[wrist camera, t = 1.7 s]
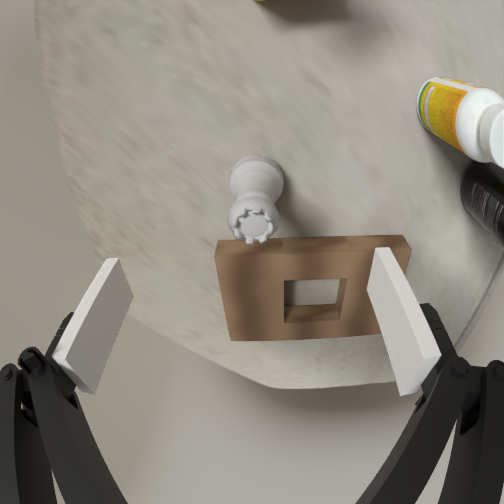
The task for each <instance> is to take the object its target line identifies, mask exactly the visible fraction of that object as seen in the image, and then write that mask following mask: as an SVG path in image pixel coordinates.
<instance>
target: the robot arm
mask: <svg viewBox="0 0 504 504" xmlns="http://www.w3.org/2000/svg"><path fill="white" fill-rule="evenodd" d="M367 292H368V295H369V297H370V300H371V303H372V306H373V309H374V312H375V315H376V317H377V320H378V323H379V326H380V329H381V332H382V336H383V339H384V342H385V345H386V348H387V352H388V355H389V358H390V361H391V365H392V368H393V372H394V375H395V379H396V382H397V386H398V390H399V393H400V396H403V395H408V394H413V393H416V392H417V391H418V389H419V388H420V386H421V387H422V390H423V394H422V396H421V397H420V398H419V400H418V401H417V402H416V403H415V405H417V406H416V408H415V410H414V412H413V414H412V416H411V417H410V419H409V421H408V423H407V425H406V427H405V429H404V430H403V432H402V434H401V436H400V438H399V439H398V441H397V443H396V445H395V446H394V448H393V449H392V451H391V453H390V455H389V456H388V458H387V459H386V461H385V463H384V464H383V465H382V467H381V469H380V470H379V472H378V473H377V474H376V476H375V478H374V479H373V480H372V482H371V483H370V485H369V486H368V487H367V489H366V490H365V492H364V493H363V494H362V496H361V497H360V498H359V500H358V501H357V502H356V503H355V504H415V503H416V501H417V499H418V498H419V496H420V494H421V493H422V491H423V489H424V487H425V486H426V484H427V482H428V480H429V478H430V476H431V474H432V473H433V471H434V469H435V467H436V465H437V463H438V461H439V459H440V457H441V455H442V452H443V450H444V448H445V446H446V443H447V441H448V439H449V437H450V434H451V432H452V429H453V427H454V425H455V422H456V419H457V423H456V429H455V435H454V441H453V446H452V451H451V456H450V461H449V465H448V469H447V473H446V477H445V481H444V485H443V488H442V492H441V495H440V499H439V502H438V504H499V503H500V498H501V494H502V488H503V483H504V362H502V361H499V360H493V361H491V362H490V363H489V364H488V366H487V367H478V366H471V365H470V364H469V363H468V362H467V361H466V360H465V359H464V358H462V357H459V356H458V355H457V354H456V351H455V349H454V347H453V345H452V342H451V340H450V338H449V336H448V334H447V332H446V329H444V325H443V323H442V322H441V319H440V317H439V315H438V313H437V311H436V310H435V309H434V308H433V307H432V306H431V305H430V304H429V303H425V304H419V303H418V301H417V299H416V297H415V295H414V293H413V291H412V289H411V287H410V285H409V283H408V281H407V279H406V277H405V276H404V274H403V272H402V270H401V268H400V266H399V264H398V262H397V261H396V259H395V257H394V255H393V253H392V251H391V250H390V248H389V247H381V248H375V252H374V257H373V262H372V267H371V272H370V277H369V281H368V286H367ZM133 297H134V296H133V293H132V291H131V289H130V286H129V284H128V281H127V279H126V276H125V274H124V271H123V269H122V266H121V263H120V261H119V258H110V259H106V261H105V262H104V264H103V265H102V267H101V269H100V270H99V272H98V273H97V275H96V277H95V278H94V280H93V282H92V283H91V285H90V287H89V289H88V290H87V292H86V293H85V295H84V297H83V299H82V300H81V302H80V304H79V306H78V307H77V309H76V311H75V313H73V312H71V313H70V314H69V315H68V316H67V317H66V318H65V319H64V320H63V322H62V324H61V326H60V329H58V331H57V333H56V336H55V337H54V339H53V340H52V342H51V344H50V346H49V348H48V350H47V352H46V354H45V356H43V355H42V353H41V352H40V351H39V349H37V348H36V347H29V348H27V349H25V350H24V351H23V352H22V353H21V354H20V356H19V358H18V365H19V366H20V367H21V368H22V369H21V370H19V369H18V368H17V367H16V366H15V365H14V364H12V363H10V364H7V365H5V366H4V367H3V368H2V369H1V371H0V504H57V500H56V495H55V489H54V484H53V477H52V472H51V468H52V471H53V474H54V477H55V479H56V482H57V484H58V487H59V489H60V492H61V494H62V496H63V499H64V501H65V503H66V504H128V503H127V502H126V500H125V498H124V497H123V495H122V493H121V491H120V490H119V488H118V486H117V484H116V482H115V480H114V479H113V477H112V475H111V473H110V471H109V469H108V467H107V465H106V463H105V461H104V459H103V457H102V455H101V453H100V451H99V448H98V447H97V444H96V442H95V439H94V437H93V435H92V433H91V430H90V428H89V425H88V423H87V420H86V418H85V415H84V413H83V410H82V408H81V405H80V402H79V399H78V396H77V394H76V392H75V391H74V389H75V387H76V386H77V387H78V388H79V389H80V390H81V391H82V392H85V393H89V394H95V393H96V390H97V387H98V384H99V382H100V379H101V376H102V373H103V371H104V368H105V365H106V363H107V360H108V357H109V355H110V352H111V350H112V347H113V345H114V342H115V340H116V337H117V335H118V332H119V330H120V327H121V325H122V323H123V320H124V318H125V316H126V313H127V311H128V309H129V306H130V304H131V302H132V299H133ZM21 404H22V405H23V408H22V409H21Z"/></svg>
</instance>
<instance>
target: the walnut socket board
mask: <svg viewBox="0 0 504 504" xmlns="http://www.w3.org/2000/svg"><path fill="white" fill-rule="evenodd" d="M245 242H246V241H245V240H239V241H238V240H218V243H217V248H216V252H215V256H214V257H215V263H216V268H217V273H218V279H219V284H220V289H221V295H222V300H223V305H224V310H225V315H226V320H227V325H228V330H229V335H230V340H231V341H275V340H303V339H321V338H337V337H350V336H361V335H372V334H382V332H381V329H380V326H379V323H378V320H377V317H376V315H375V312H374V309H373V306H372V303H371V300H370V297H369V295H368V292H367V286H368V281H369V277H370V272H371V267H372V262H373V257H374V252H375V248H381V247H389V248H390V250H391V251H392V253H393V255H394V257H395V259H396V261H397V262H398V264H399V266H400V268H401V270H402V272H403V274H405V271H406V268H407V264H408V260H409V257H410V253H411V248H410V246H409V245H408V243H407V242H406V240H405V238H404V237H403V235H374V236H335V237H301V238H271V239H268V241H266V242H264V243H263V244H260V242H259V241H257V242H253V246H252V245H247V244H245ZM335 278H340V283H339V289H338V295H337V302H336V304H324V305H303V306H284V281H285V280H312V279H335Z"/></svg>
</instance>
